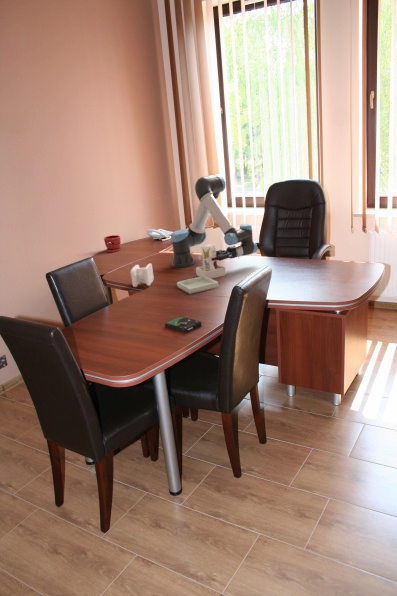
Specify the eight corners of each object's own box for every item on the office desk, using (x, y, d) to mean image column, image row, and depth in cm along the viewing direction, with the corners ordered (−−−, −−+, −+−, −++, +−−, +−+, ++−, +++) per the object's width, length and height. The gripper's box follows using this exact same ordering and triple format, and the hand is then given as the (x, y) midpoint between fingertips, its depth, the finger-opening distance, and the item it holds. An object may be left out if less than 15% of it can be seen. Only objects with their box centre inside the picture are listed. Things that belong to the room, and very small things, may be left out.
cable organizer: (149, 287, 295) (146, 269, 292) (132, 288, 297) (129, 270, 293) (154, 280, 309) (151, 262, 306) (138, 281, 311) (135, 263, 307)
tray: (177, 286, 290) (176, 282, 289) (204, 280, 297) (204, 275, 296) (190, 294, 275) (189, 289, 274) (218, 287, 281) (217, 282, 281)
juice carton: (203, 277, 304) (199, 247, 298) (207, 273, 311) (204, 244, 305) (214, 277, 301) (211, 247, 295) (218, 273, 309) (215, 243, 303)
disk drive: (202, 327, 228) (180, 320, 239) (201, 321, 227) (180, 315, 238) (186, 334, 222) (164, 327, 232) (185, 329, 221) (164, 322, 231)
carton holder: (196, 275, 310) (195, 267, 308) (215, 270, 315) (214, 263, 313) (206, 279, 298) (205, 271, 296) (225, 275, 303) (224, 267, 301)
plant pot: (104, 253, 401) (101, 239, 397) (109, 249, 413) (107, 235, 409) (119, 252, 398) (116, 237, 395) (124, 248, 411) (121, 234, 407)
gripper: (243, 260, 301) (211, 268, 293) (226, 254, 320) (195, 261, 312) (242, 248, 299) (210, 256, 290) (225, 243, 318) (194, 250, 309)
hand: (202, 258), depth 301 cm, fingers open, 9 cm apart
